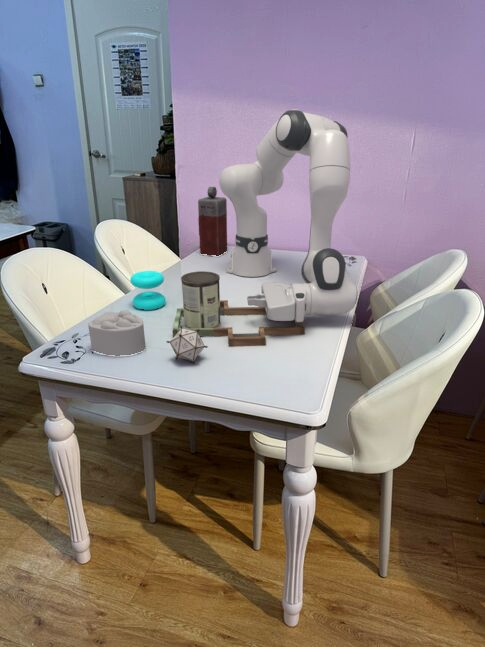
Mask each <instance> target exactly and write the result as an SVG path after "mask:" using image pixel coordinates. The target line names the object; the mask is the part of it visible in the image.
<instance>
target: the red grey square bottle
mask: <svg viewBox="0 0 485 647" xmlns="http://www.w3.org/2000/svg"><path fill="white" fill-rule="evenodd" d="M217 193H218V190H217V187H216V186H208V188H207V196H206V197H203V198H199V199H198V200H197V207H198V209H197V210H198V211H197V212H198V217H197V220H198V221H197V222H198V236H199V254H200V253H201V254H207V255H216V256H219V255H221V254H223V253H224V252H226V251H227V252H228V213H227V212H228V210H227V208H228V205H227V198H226V197H218V196H217ZM223 255H224V254H223Z"/></svg>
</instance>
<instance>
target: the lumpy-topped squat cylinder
mask: <svg viewBox="0 0 485 647" xmlns="http://www.w3.org/2000/svg"><path fill="white" fill-rule="evenodd" d="M87 326H88V327H87V328H88V331H89V333H88V334H89V339H90V346H91V350H93V351H96V352H99V353H103V354H106V355H115V356H120V355H131V354H135V353H138V352H141V351H143V350H144V349H145V347H147V346H146V338H145V330H144V329H145V327H144V321H143V319H142V318H140V316H137V315H135V314H132V312H131V311H129V310H128V309H127V310H126V309H122V310H121V311H119V312H114V311H113V312H112V311H105V312H104V313H102V314H101V315H99V316H97V317H96V318H94V319H92V320H91V321H89V322H88V325H87ZM145 350H146V349H145ZM93 351H92V352H93Z"/></svg>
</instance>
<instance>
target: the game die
mask: <svg viewBox="0 0 485 647" xmlns="http://www.w3.org/2000/svg"><path fill="white" fill-rule="evenodd" d="M180 328H181V329H180ZM184 328H185V327H183V325H181V324H180V327H179V329H180V330H179V331H178V333H177V334H176V335H175V336H174V337H173V336H172V339H171V340H170V341H169V340H167V341H165V342H166V343H167V344H170V346H171V348H172V350H173V352H174V353H175V358H174V359H176V360H178V359H182V360H187V361H190V362H192V365H193V364H194V365H195V364H196V362H195V360H196V358H197V357H198V356H199V355H200V353H201V352H202V351H203V350H204V348H205V349H207V348H209V346H208V345H205V344H204V341H203V339H202V338H201V337H200V335H199V333H198V331H200V329H198V330H197V331H194V330H189V329H184Z"/></svg>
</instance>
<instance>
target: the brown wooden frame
mask: <svg viewBox="0 0 485 647" xmlns="http://www.w3.org/2000/svg"><path fill="white" fill-rule="evenodd" d="M224 315H226V316H261V315H262V316H267V313H266V309H265V307H258V306H249V307H248V306H246V307H245V306H243V307H241V306H240V307H238V306H237V307H229V301H228V300H225V299H224V300H222V299H220V316H224ZM182 317H184V308H176V313H175V317H174V322H173V326H172V338H173V337H174V336H175V335H176V334H177V333H178V331H179V330H180V329H181V328H180V327H179V326H180V325H181V321H180V320H182ZM293 321H294V323H295V325H284V326H283V325H281V326H279V325H277V326H258V332H255V333H254V332H253V333H252V332H251V333H250V332H249V333H248V332H247V333H246V332H245V333H234V331H233V327H232V326H231V327H228V326H227V327H226V326H225V327H219V328H185V327H183V328H184V329H189V330H194V331H197V330H198V329H200V331H198V333H199V335H200V336H214V337H227V340H228V344H229V345H228V347H250V346H251V347H252V346H253V347H254V346H255V347H257V346H262V347H263V346H266V344H267V343H266V342H267V338H266V336H284V335H285V336H292V335H293V336H295V335H296V336H298V335H305V330H306V329H305V328H306V326H305V324H304V321H303V322H296V321H295V319H294V320H293Z"/></svg>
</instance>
